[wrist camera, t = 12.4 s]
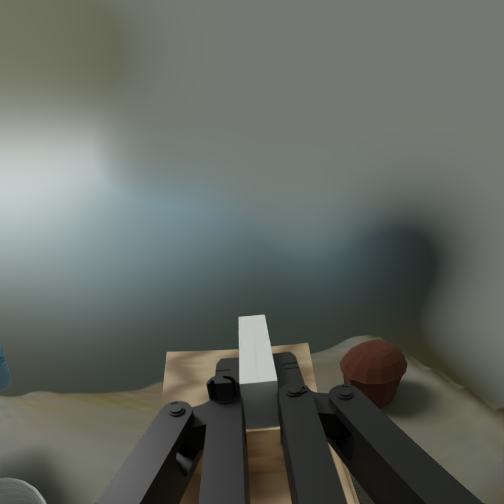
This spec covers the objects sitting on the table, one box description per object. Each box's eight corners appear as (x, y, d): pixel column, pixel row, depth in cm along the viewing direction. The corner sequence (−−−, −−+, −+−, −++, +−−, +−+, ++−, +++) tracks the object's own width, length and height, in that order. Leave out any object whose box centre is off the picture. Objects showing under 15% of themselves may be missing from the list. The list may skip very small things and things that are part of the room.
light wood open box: (154, 556, 18) (120, 524, 16) (171, 473, 32) (151, 427, 30) (348, 550, 18) (366, 518, 16) (326, 465, 32) (332, 418, 30)
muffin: (384, 370, 52) (390, 325, 50) (411, 402, 41) (423, 354, 39) (328, 383, 51) (331, 338, 49) (349, 421, 40) (356, 373, 38)
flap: (160, 424, 30) (167, 351, 38) (161, 425, 30) (167, 353, 38) (321, 416, 30) (307, 342, 38) (321, 417, 30) (307, 344, 38)
